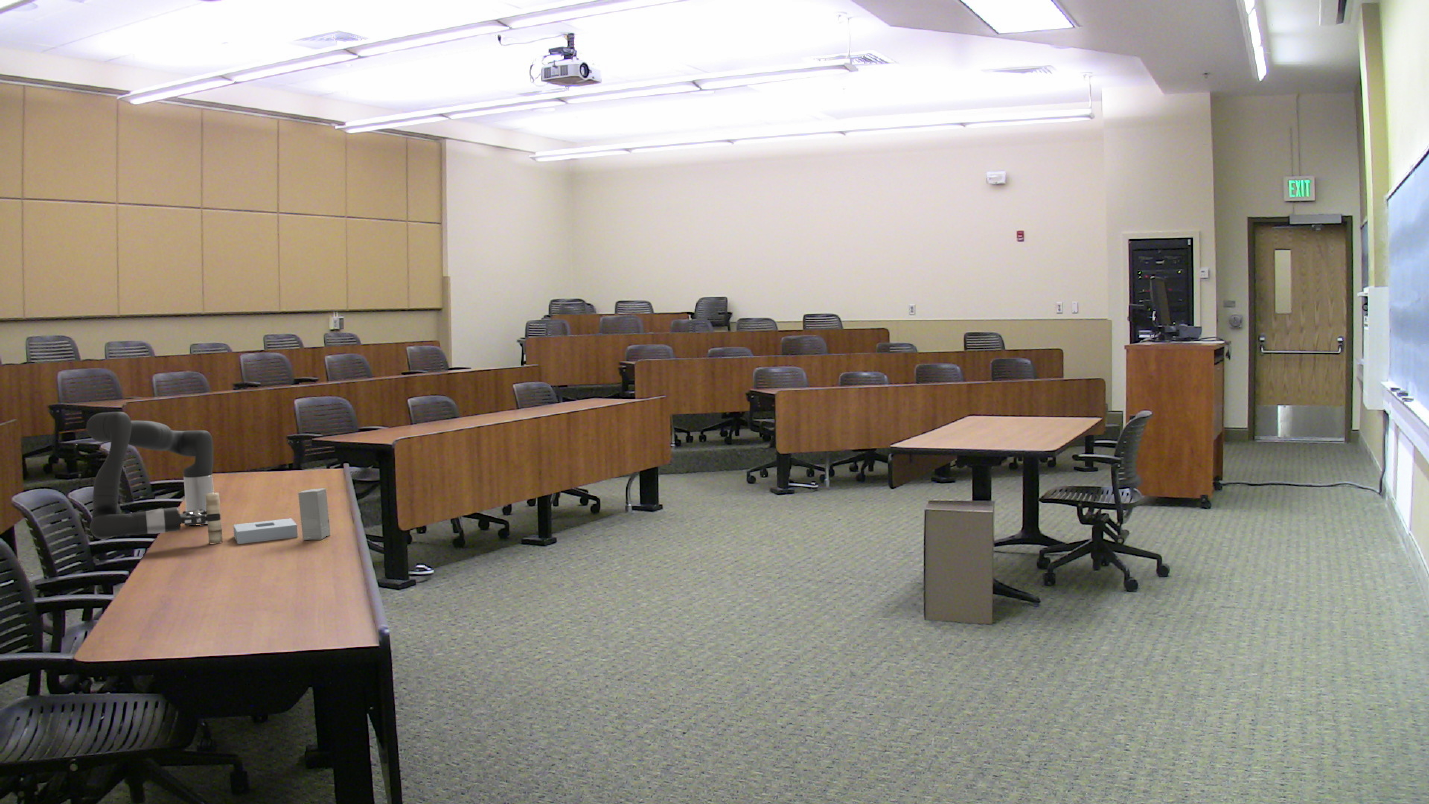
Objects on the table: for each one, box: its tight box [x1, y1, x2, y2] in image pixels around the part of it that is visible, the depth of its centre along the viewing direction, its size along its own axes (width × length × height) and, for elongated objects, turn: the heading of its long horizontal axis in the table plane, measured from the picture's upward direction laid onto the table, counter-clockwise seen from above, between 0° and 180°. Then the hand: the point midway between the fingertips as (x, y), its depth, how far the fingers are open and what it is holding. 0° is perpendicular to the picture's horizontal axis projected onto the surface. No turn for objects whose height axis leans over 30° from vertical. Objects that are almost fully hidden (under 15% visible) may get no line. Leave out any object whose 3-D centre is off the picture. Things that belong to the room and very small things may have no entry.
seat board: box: [232, 517, 299, 545], centre depth 355 cm, size 14×18×4 cm
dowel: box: [205, 492, 223, 544], centre depth 347 cm, size 4×4×16 cm
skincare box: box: [297, 487, 331, 541], centre depth 350 cm, size 8×7×16 cm
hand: (219, 514), depth 348 cm, fingers open, 8 cm apart
